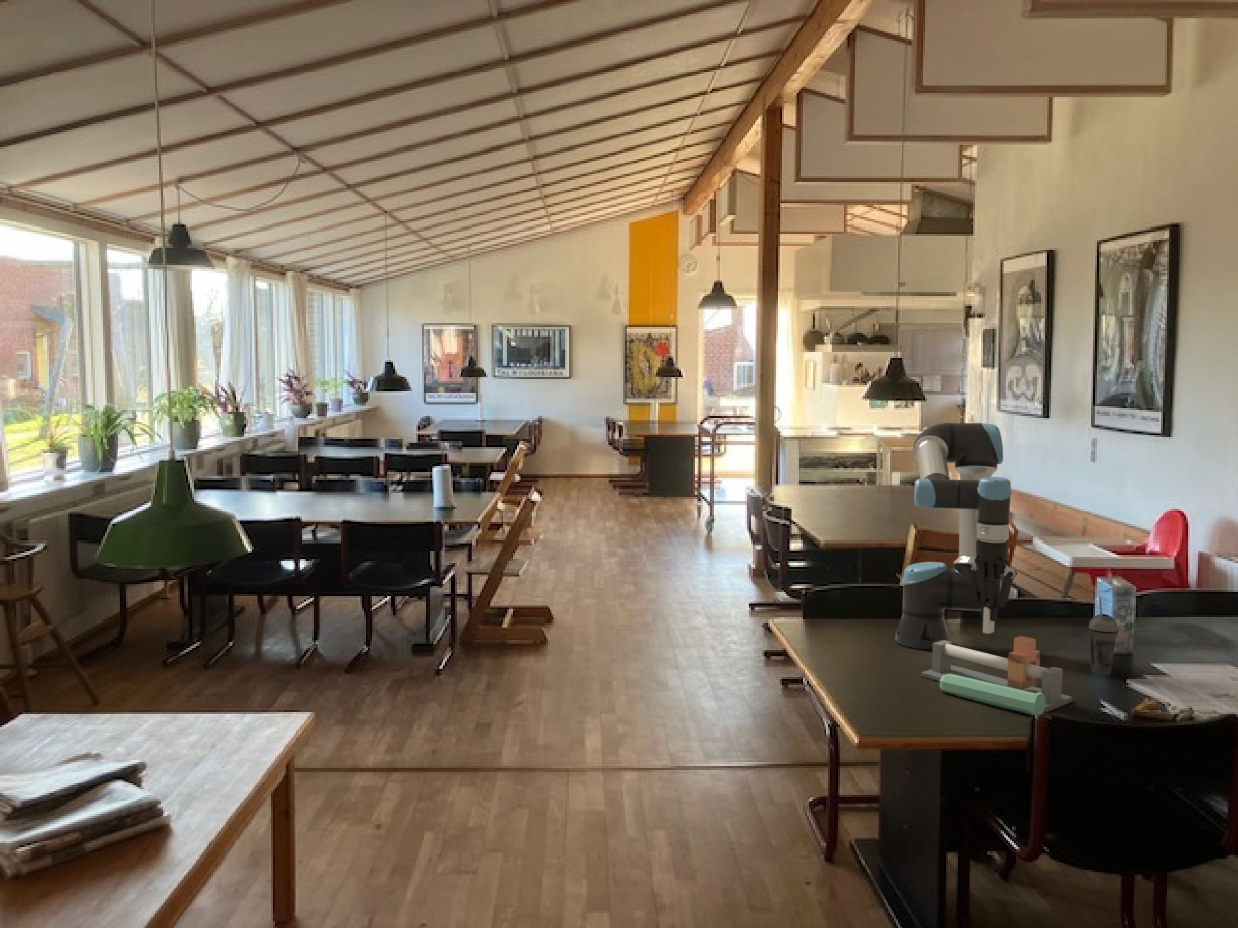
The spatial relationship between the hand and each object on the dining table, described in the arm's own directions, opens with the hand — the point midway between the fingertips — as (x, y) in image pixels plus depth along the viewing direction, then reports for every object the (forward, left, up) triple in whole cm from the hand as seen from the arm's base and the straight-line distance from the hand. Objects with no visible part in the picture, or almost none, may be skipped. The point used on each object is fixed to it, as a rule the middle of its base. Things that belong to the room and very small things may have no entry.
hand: (988, 632), depth 253 cm
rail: (+2, -1, -14) cm, 14 cm away
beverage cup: (+12, +34, -14) cm, 39 cm away
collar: (+10, -1, -11) cm, 15 cm away
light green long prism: (+7, -11, -14) cm, 19 cm away
